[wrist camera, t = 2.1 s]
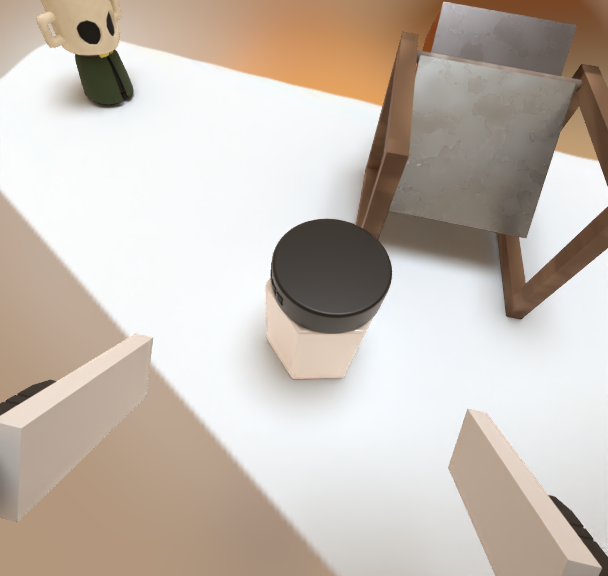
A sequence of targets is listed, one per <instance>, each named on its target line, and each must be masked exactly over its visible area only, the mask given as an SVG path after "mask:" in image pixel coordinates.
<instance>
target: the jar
mask: <svg viewBox="0 0 608 576" xmlns="http://www.w3.org/2000/svg"><path fill="white" fill-rule="evenodd" d="M391 280H392V266H391V262H390V259H389V256H388V254H387V252H386V250H385V249H384V247H383V246H382V244H381V243H380V242H379V241H378V240H377V239H376V238H375V237H374V236H373V235H372V234H371V233H369V232H368V231H366V230H365V229H363V228H361V227H359V226H357V225H355V224H352V223H349V222H346V221H342V220H336V219H317V220H312V221H308V222H305V223H302V224H300V225H298V226H296V227H294V228H292V229H291V230H290V231H288V232H287V233H286V234H285V235H284V236H283V237H282V238H281V239H280V241H279V242H278V244H277V246H276V248H275V250H274V253H273V257H272V263H271V277H270V279H269V280H268V282H267V283H266V327H267V340H268V341H269V343H270V345H271V346H272V348H273V349H274V351H275V353H276V354H277V356H278V357H279V359H280V360H281V362H282V364H283V365H284V367H285V368H286V370H287V372H288V373H289V375H290V376H291V378H292V379H315V378H343V377H344V376H345V374H346V372H347V370H348V368H349V366H350V364H351V362H352V360H353V358H354V356H355V354H356V352H357V350H358V348H359V346H360V344H361V342H362V339H363V337H364V335H365V333H366V331H367V329H368V327H369V325H370V323H371V321H372V319H373V317H374V316H375V314H376V313H377V311H378V310H379V308H380V306H381V304H382V302H383V300H384V298H385V296H386V294H387V292H388V290H389V287H390V284H391Z"/></svg>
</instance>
